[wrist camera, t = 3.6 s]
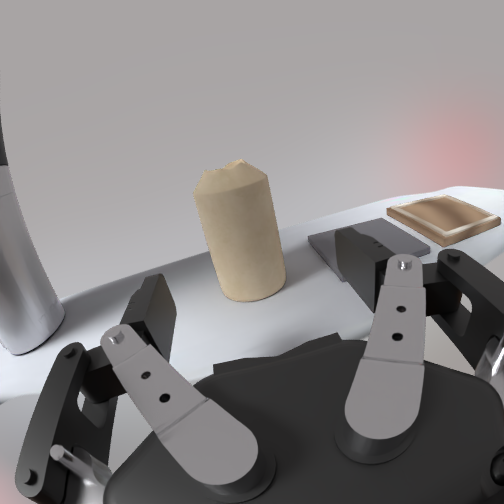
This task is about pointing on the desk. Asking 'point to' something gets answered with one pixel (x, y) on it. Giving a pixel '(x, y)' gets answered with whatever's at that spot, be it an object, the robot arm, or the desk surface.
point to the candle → (241, 231)
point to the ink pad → (375, 228)
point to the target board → (444, 218)
